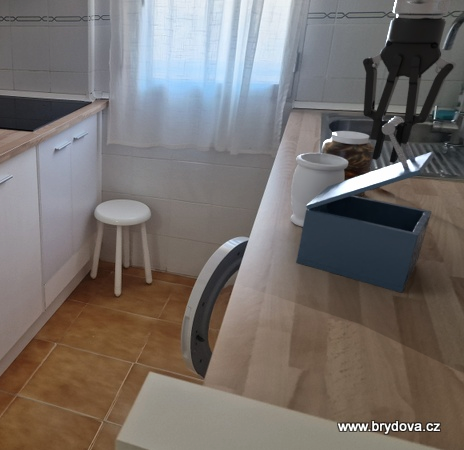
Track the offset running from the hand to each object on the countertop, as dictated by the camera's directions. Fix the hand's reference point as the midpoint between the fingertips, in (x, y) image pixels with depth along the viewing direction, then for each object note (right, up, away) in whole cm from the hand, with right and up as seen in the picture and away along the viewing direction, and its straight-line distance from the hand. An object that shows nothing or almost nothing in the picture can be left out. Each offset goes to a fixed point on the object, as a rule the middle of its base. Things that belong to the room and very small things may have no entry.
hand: (384, 158), depth 96 cm
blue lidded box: (0, -19, +9) cm, 21 cm away
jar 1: (-1, -11, +27) cm, 29 cm away
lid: (-1, -4, +3) cm, 5 cm away
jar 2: (+16, -3, +47) cm, 49 cm away
